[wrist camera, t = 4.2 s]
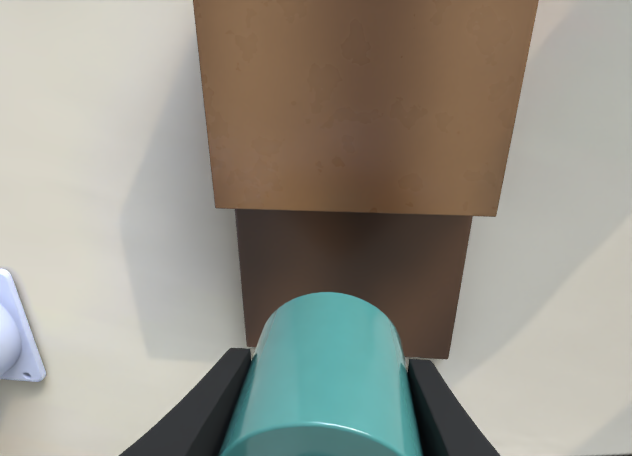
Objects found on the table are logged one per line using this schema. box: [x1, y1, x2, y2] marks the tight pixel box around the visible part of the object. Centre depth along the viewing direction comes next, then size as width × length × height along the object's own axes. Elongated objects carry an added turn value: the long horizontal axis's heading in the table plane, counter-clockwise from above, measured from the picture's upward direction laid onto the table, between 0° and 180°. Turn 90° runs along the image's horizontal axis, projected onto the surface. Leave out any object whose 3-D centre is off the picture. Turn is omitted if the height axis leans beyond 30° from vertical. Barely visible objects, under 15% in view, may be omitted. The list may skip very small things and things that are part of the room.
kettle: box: [218, 292, 424, 456], centre depth 10 cm, size 7×5×5 cm
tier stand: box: [193, 0, 539, 359], centre depth 16 cm, size 11×18×3 cm, turn 0°
